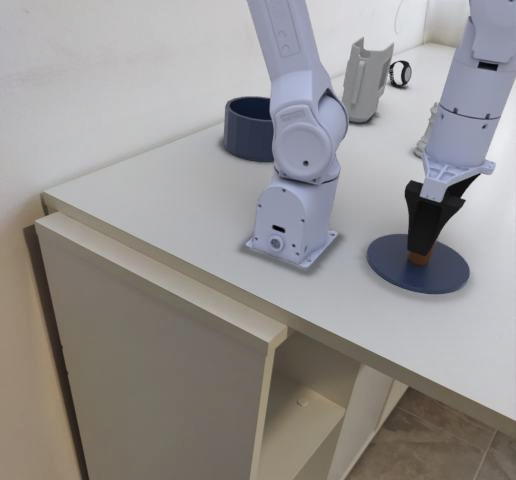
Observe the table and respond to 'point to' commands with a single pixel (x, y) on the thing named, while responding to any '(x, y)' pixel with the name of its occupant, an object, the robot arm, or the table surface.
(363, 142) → the table surface
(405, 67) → the smartwatch
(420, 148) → the rook chess piece
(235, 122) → the tin
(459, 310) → the table surface
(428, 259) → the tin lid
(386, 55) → the cable organizer
